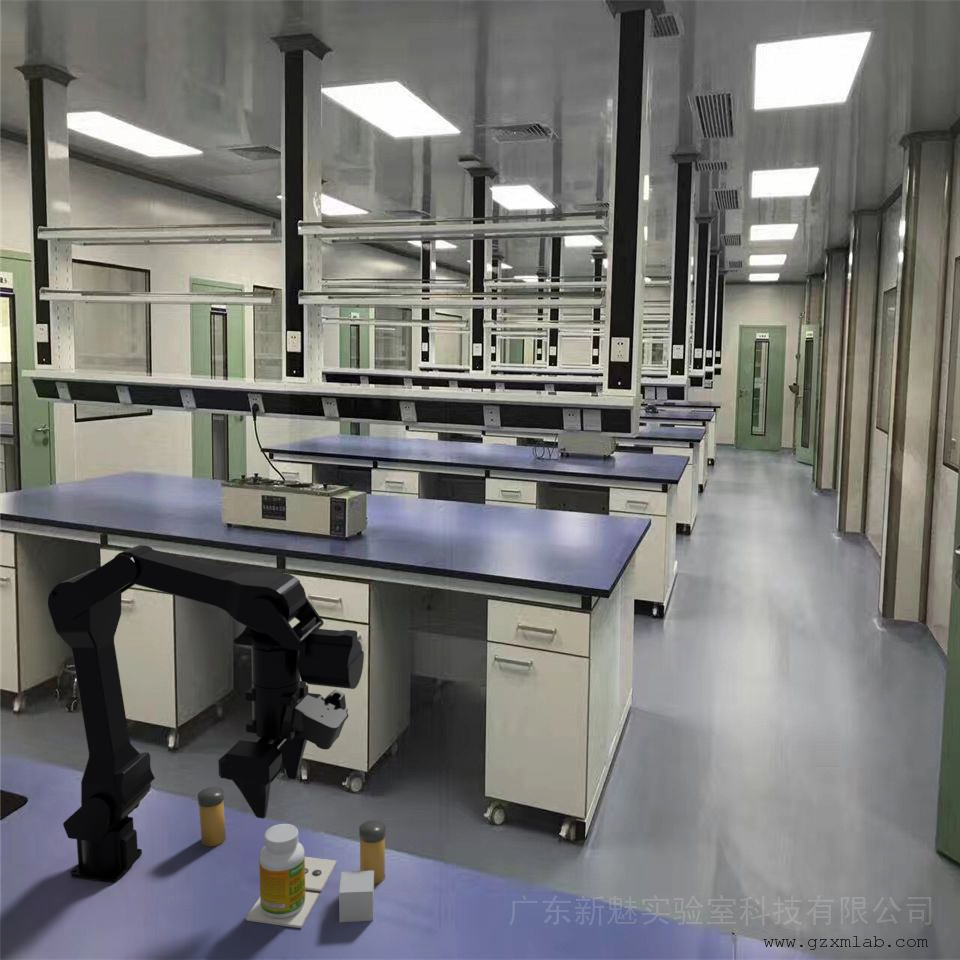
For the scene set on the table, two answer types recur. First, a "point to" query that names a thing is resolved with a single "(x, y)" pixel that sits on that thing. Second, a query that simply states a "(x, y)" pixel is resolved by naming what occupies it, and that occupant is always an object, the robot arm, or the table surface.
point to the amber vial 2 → (373, 848)
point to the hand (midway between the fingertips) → (277, 797)
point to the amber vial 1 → (212, 816)
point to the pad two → (291, 921)
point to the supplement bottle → (282, 872)
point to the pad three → (317, 872)
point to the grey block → (356, 896)
